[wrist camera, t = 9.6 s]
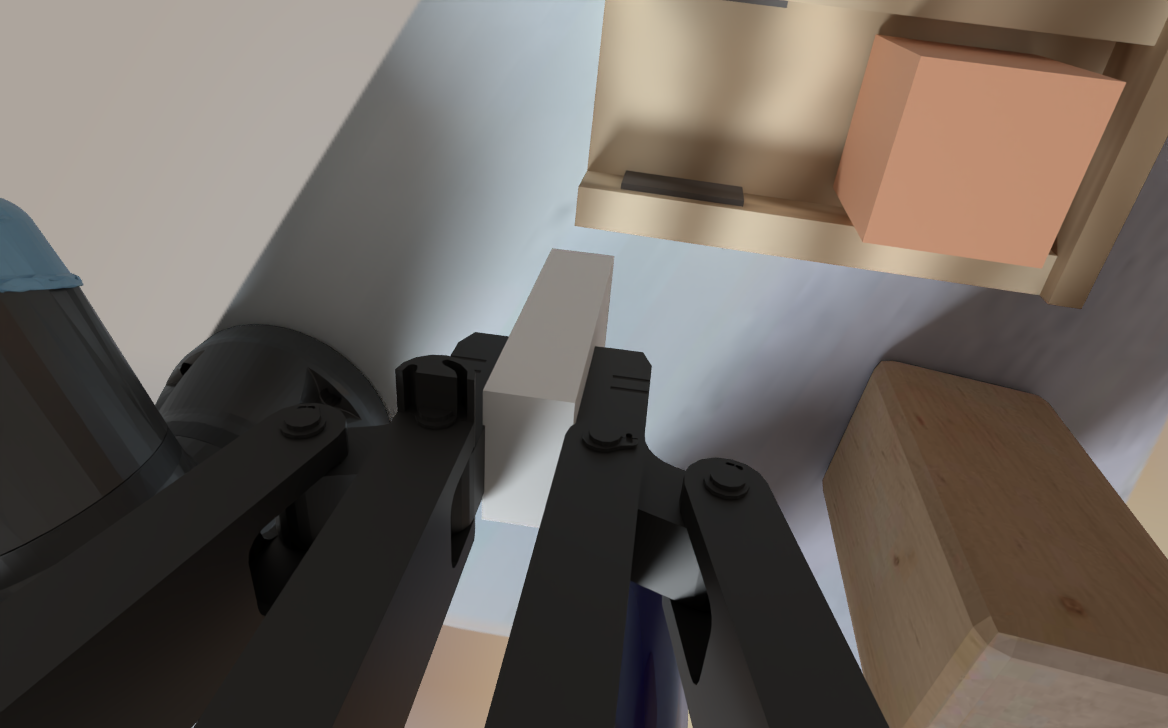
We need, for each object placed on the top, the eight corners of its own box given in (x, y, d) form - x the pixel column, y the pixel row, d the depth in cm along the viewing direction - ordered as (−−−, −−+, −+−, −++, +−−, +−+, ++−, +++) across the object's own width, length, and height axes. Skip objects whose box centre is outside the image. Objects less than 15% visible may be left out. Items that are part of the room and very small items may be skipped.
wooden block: (875, 349, 41) (995, 630, 24) (1049, 390, 41) (1296, 705, 24) (814, 482, 47) (878, 793, 29) (968, 519, 46) (1125, 856, 29)
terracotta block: (832, 187, 36) (862, 242, 29) (875, 34, 33) (921, 55, 26) (976, 207, 36) (1041, 268, 29) (1036, 54, 32) (1126, 82, 25)
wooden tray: (586, 202, 40) (571, 232, 35) (615, -75, 33) (602, -79, 29) (1038, 268, 38) (1081, 309, 34) (1164, -10, 31) (1237, -4, 27)
